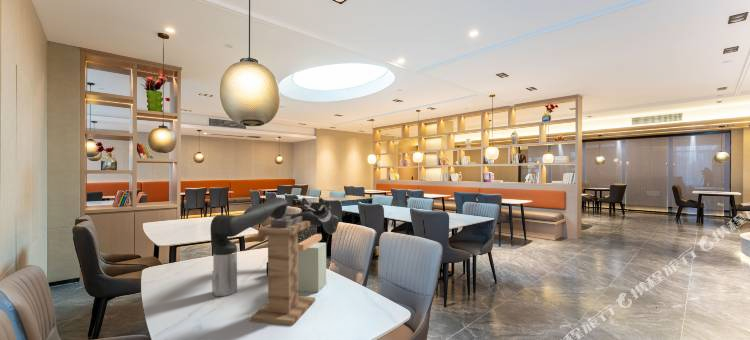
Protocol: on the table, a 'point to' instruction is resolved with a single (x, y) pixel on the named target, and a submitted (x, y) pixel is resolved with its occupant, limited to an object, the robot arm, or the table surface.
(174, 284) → the table surface
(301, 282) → the pedestal
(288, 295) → the stand
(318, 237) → the block
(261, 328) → the table surface
